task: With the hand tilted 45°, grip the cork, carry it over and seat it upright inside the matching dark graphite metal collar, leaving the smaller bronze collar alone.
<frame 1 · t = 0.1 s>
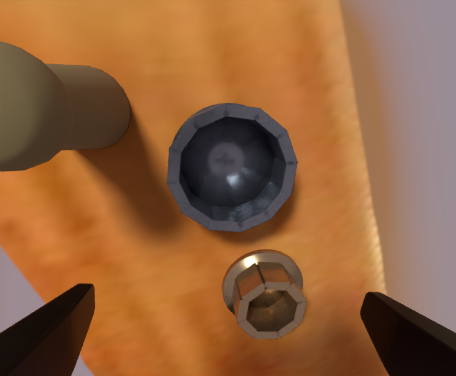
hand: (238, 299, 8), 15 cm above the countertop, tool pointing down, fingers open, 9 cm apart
cork: (89, 109, 20), on the countertop
small collar: (261, 284, 26), on the countertop
fitting collar: (227, 162, 22), on the countertop
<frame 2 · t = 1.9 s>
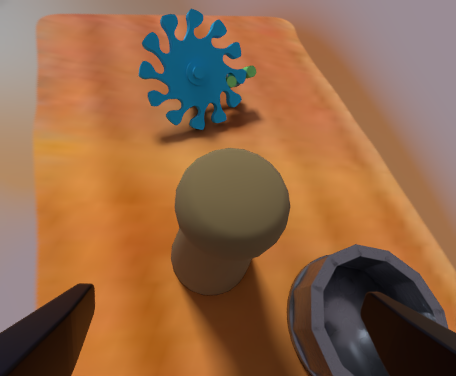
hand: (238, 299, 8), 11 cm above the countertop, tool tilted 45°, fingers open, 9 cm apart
cork: (210, 253, 20), on the countertop
gear: (198, 105, 27), on the countertop
fitting collar: (348, 320, 19), on the countertop
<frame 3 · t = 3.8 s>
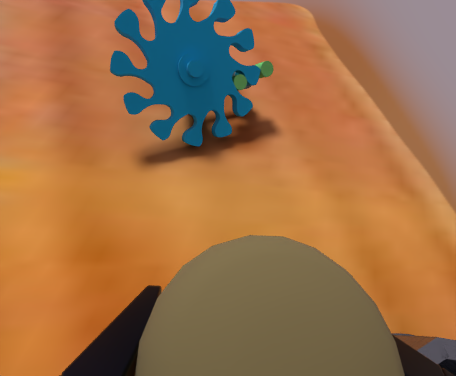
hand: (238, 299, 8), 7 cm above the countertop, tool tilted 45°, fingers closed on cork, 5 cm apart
cork: (213, 339, 14), on the countertop, touching gripper
gear: (195, 112, 21), on the countertop
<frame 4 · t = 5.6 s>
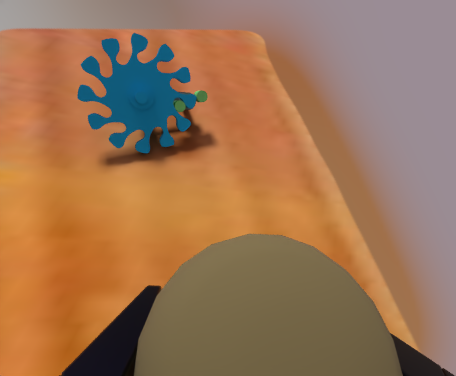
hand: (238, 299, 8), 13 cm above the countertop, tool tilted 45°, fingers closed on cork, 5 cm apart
cork: (212, 337, 14), point 6 cm above the countertop, touching gripper
gear: (151, 125, 27), on the countertop
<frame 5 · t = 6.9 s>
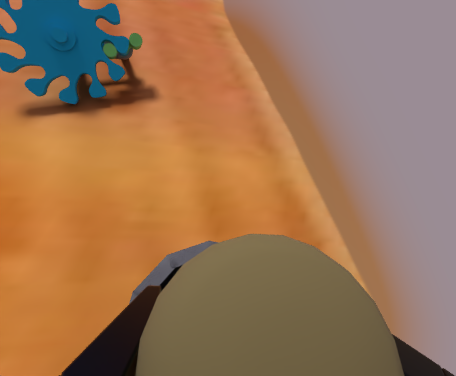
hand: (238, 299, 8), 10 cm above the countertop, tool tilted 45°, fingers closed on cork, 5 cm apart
cork: (212, 337, 14), point 3 cm above the countertop, touching gripper
gear: (85, 78, 24), on the countertop
fitting collar: (209, 330, 16), on the countertop
when the fingers open (9 cm above the countertop, at t = 7.5 s): cork drops 1 cm, resting on fitting collar.
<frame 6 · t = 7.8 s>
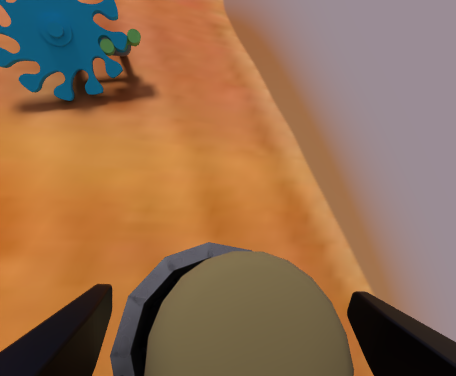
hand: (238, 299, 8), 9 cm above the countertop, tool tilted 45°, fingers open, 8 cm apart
cork: (208, 339, 15), resting on fitting collar
gear: (82, 75, 24), on the countertop
fitting collar: (209, 337, 15), on the countertop
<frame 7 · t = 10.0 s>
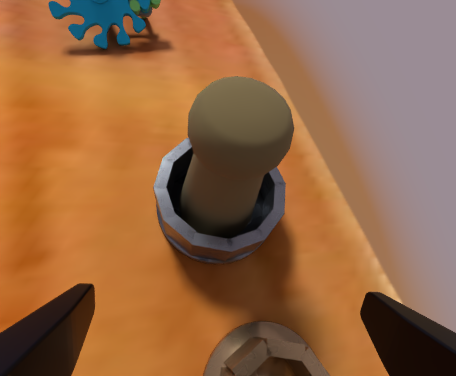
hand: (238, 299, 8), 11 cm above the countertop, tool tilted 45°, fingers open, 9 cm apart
cork: (216, 204, 21), resting on fitting collar
gear: (113, 32, 30), on the countertop
fitting collar: (216, 205, 22), on the countertop
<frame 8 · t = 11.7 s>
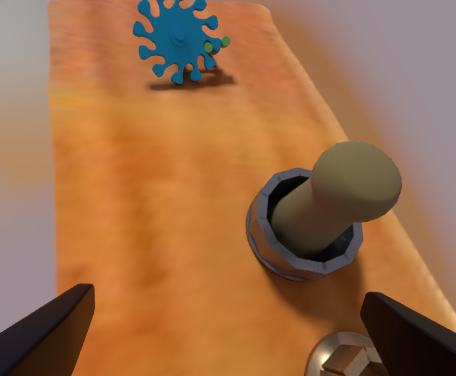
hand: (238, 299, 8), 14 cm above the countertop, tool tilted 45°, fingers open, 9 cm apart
cork: (295, 229, 25), resting on fitting collar
gear: (183, 67, 33), on the countertop
fitting collar: (294, 229, 25), on the countertop
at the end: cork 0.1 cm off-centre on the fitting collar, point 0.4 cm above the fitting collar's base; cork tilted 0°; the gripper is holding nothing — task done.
